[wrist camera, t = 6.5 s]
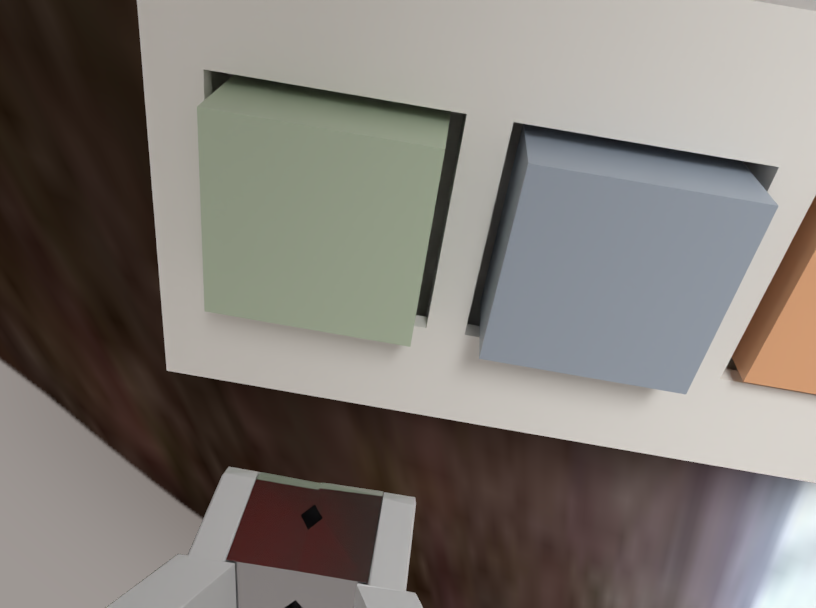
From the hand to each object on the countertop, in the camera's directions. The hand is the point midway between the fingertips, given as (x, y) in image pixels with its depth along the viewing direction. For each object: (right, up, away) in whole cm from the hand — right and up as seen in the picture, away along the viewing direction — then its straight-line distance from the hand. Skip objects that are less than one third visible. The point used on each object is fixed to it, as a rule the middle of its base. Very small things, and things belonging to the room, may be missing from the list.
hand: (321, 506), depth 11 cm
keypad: (+7, +7, +12) cm, 15 cm away
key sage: (-1, +7, +9) cm, 12 cm away
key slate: (+7, +5, +9) cm, 13 cm away
